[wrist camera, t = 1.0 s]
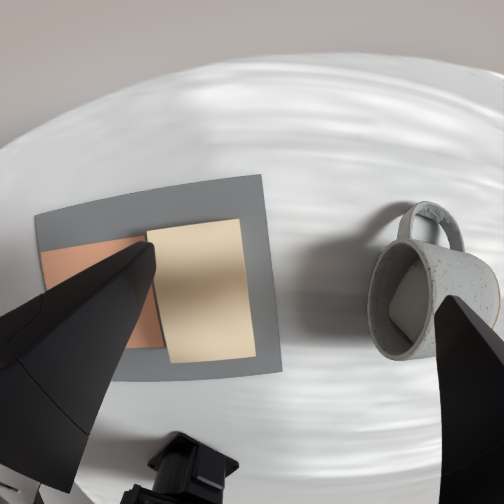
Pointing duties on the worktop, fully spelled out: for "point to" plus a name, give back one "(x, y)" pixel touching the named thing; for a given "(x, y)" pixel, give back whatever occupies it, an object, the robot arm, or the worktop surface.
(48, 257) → the mat
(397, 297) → the ceramic mug
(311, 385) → the worktop surface
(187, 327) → the card box
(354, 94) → the worktop surface
